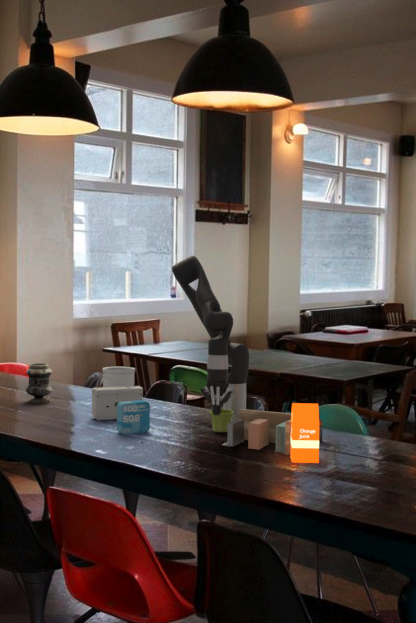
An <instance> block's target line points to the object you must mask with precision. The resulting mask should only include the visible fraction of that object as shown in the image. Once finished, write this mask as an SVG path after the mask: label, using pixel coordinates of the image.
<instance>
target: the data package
mask: <svg viewBox="0 0 416 623" xmlns="http://www.w3.org/2000/svg"><path fill="white" fill-rule="evenodd" d="M150 409H151V405H150V403H149V402H148V401H146V400H138V401H125V402H119V403H118V404H117V419H116V430H117V432H118V433H119V434H122V435H131V434H132V435H133V434H143V433H148V432H149V431H150V428H151V423H150V422H151V421H150V420H151V418H150V417H151V416H150V415H151V412H150V411H151V410H150Z"/></svg>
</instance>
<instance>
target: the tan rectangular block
mask: <svg viewBox="0 0 416 623" xmlns="http://www.w3.org/2000/svg"><path fill="white" fill-rule="evenodd" d="M247 441H248V442H247V443H248V445H247V448H248V449H249V450H251V449H252V450H259V451H260V450H261V449H262V448H264V447H266V446H269V445H270V444H269V443H270V442H269V420H266V419H257V420H254V421H252V422H250V423H249V424H248V440H247Z"/></svg>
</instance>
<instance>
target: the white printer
mask: <svg viewBox="0 0 416 623" xmlns="http://www.w3.org/2000/svg"><path fill="white" fill-rule="evenodd" d="M97 374H98V375H101V376H102V377H103V376H104V375H103V374H101V373H100V372H98V373H97ZM104 377H106V376H104ZM106 378H108V377H106ZM108 379H110V378H108ZM110 380H112V381H114V382H116V383H119V382H117V381H115V380H113V379H110ZM119 384H121V383H119ZM121 385H123V384H121ZM143 392H144V388H143V387H142V386H141V385H134V386H125V385H123V387H103V386H102V387H100V386H99V387H92V388H91V416H92V417H93V418H94V419H95V420H96V421H110V420H117V404H118V403H119V402H125V401H138V400H143V398H144V397H143V396H144V393H143ZM143 401H144V400H143Z"/></svg>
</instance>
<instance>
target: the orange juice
mask: <svg viewBox="0 0 416 623" xmlns="http://www.w3.org/2000/svg"><path fill="white" fill-rule="evenodd" d="M319 412H320V408H319V403H310V402H309V403H308V402H307V403H300V402H292V403H291V453H290V454H289V455H290V456H289V457H290V460H291V461H290V462H291V463H295V464H297V463H299V464H300V463H301V464H304V463H305V464H319V463H320V443H319V414H320V413H319ZM291 467H296V465H293V464H291Z"/></svg>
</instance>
